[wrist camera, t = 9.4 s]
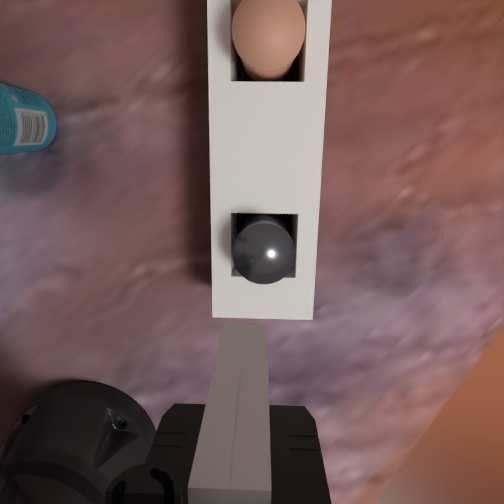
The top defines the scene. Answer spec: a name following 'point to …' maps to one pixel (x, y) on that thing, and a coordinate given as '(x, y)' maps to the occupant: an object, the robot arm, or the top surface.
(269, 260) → the plunger graphite
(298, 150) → the block
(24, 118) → the tube
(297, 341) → the top surface
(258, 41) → the tan rounded peg
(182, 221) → the top surface
